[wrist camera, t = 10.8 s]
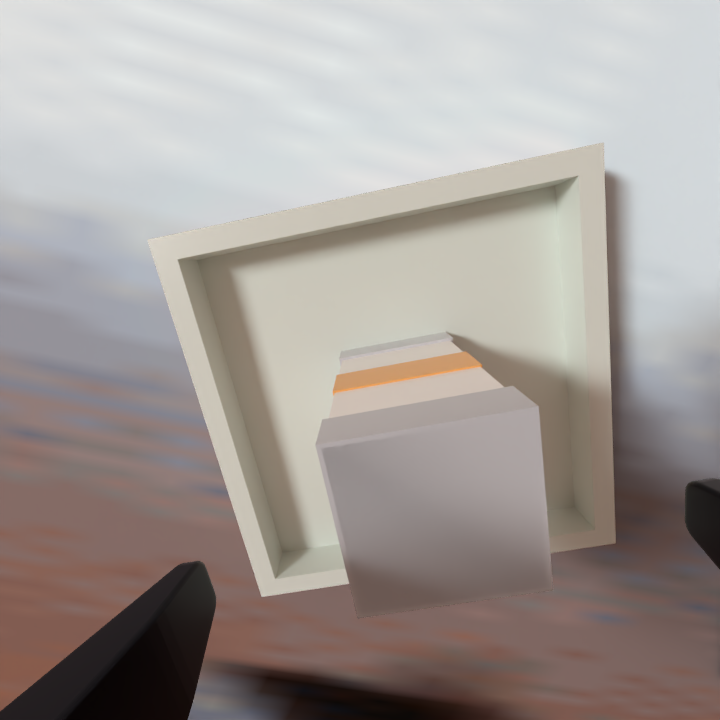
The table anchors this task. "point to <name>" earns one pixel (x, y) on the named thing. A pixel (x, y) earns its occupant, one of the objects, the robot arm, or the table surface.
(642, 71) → the table surface
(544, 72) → the table surface
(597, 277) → the tray
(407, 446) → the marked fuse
